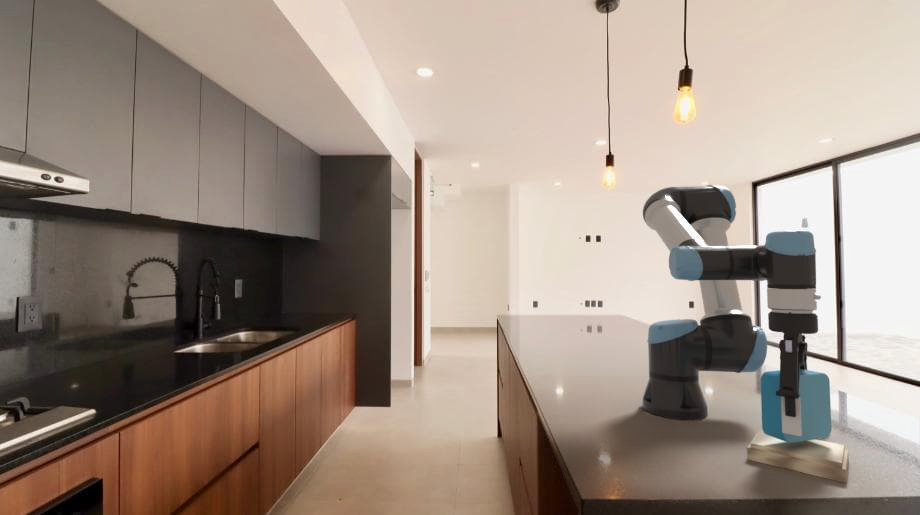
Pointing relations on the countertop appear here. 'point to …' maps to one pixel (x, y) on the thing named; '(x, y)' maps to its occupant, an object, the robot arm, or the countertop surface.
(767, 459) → the stand
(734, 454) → the countertop surface
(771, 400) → the blue box
